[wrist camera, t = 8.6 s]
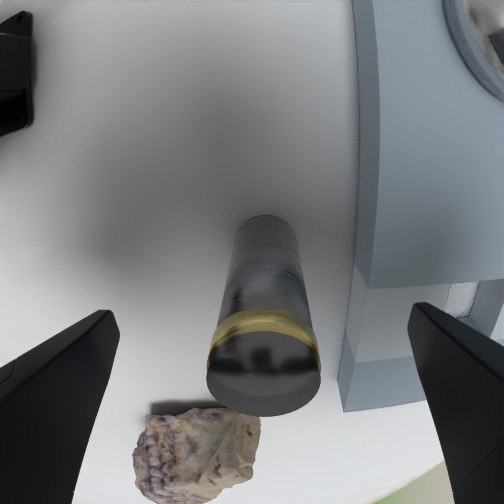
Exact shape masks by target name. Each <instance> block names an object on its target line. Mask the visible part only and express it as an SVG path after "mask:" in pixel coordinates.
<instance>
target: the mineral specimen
mask: <svg viewBox="0 0 504 504" xmlns="http://www.w3.org/2000/svg"><path fill="white" fill-rule="evenodd" d="M260 426H261V424H260V419H259V418H258V417H257V416H250V415H245V414H241V413H238V412H235V411H233V410H231V409H229V408H221V407H220V408H208V409H199V408H193V409H191V410H189V411H187V412H186V413H183V414H179V415H175V416H171V415H165V416H159V415H150V416H146V428H145V431H143V432H142V433H141V434H140V436H139V439H138V442H137V446H138V447H137V448H135V449H134V452H133V454H132V456H133V461H134V462H133V466H134V470H135V474H136V481H135V484H136V487H137V488H138V489H140V491H141V492H142V494H143V495H144V496H145V497H146V498H147V499H149V500H152V501H154V502H155V503H157V504H203V503H206V502H208V501H210V500H212V499H214V498H216V497H217V495H219V494H220V493H221V491H222V489H224V488H232V486H233V485H235V484H239V483H243V482H245V481H248V480H250V479H251V478H252V476H253V469H252V466H253V463H254V462H255V453H256V450H257V448H258V444H259V437H260V432H261V431H260Z"/></svg>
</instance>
